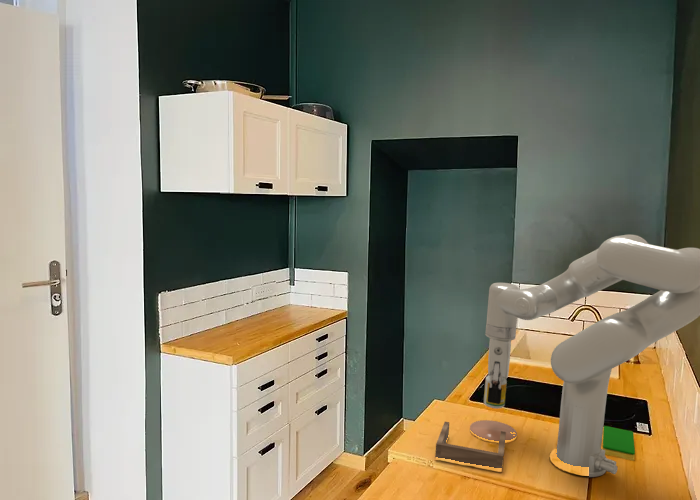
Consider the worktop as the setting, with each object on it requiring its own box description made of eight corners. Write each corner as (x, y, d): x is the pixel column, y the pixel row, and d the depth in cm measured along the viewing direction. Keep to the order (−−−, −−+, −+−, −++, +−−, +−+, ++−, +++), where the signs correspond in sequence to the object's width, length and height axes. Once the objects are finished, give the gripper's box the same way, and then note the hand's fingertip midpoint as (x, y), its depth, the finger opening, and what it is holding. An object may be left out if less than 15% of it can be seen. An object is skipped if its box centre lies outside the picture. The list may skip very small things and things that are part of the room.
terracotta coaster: (525, 435, 147) (525, 432, 147) (499, 448, 139) (500, 445, 139) (487, 419, 156) (487, 416, 156) (460, 430, 148) (460, 428, 148)
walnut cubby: (501, 472, 127) (503, 456, 127) (435, 460, 132) (436, 444, 132) (504, 447, 140) (505, 431, 140) (443, 436, 145) (444, 421, 144)
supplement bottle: (479, 401, 149) (482, 366, 148) (498, 400, 150) (501, 365, 149) (489, 409, 144) (492, 373, 143) (508, 408, 145) (511, 372, 144)
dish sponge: (632, 439, 148) (633, 431, 148) (634, 462, 136) (635, 453, 136) (602, 433, 151) (603, 425, 151) (601, 455, 139) (602, 446, 139)
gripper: (514, 341, 135) (508, 413, 138) (516, 325, 151) (511, 389, 154) (482, 337, 138) (476, 408, 140) (488, 321, 154) (483, 384, 156)
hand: (494, 397), depth 147 cm, fingers closed on supplement bottle, 5 cm apart
